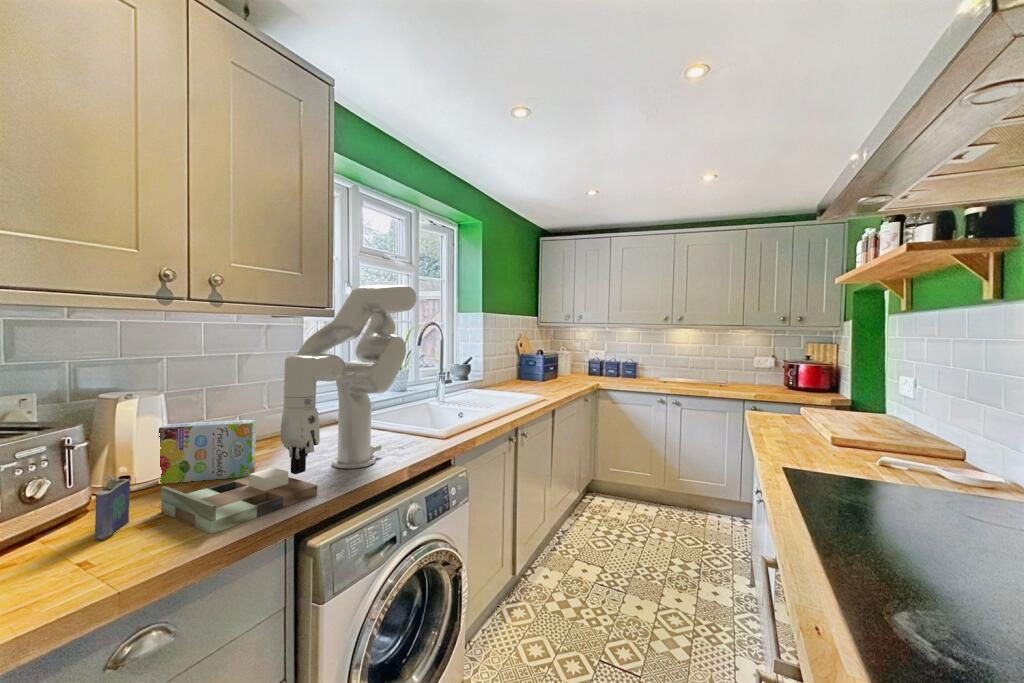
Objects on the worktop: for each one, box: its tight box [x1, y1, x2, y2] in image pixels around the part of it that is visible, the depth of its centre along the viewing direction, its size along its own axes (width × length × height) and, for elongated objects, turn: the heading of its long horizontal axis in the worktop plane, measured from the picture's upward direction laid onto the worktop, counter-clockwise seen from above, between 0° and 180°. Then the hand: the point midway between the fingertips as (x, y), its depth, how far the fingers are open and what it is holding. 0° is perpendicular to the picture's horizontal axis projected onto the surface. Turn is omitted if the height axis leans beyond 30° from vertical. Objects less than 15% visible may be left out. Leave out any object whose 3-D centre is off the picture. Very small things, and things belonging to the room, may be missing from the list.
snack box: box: [158, 419, 257, 485], centre depth 116 cm, size 21×6×15 cm, turn 111°
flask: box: [94, 476, 131, 542], centre depth 85 cm, size 9×3×11 cm, turn 20°
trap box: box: [160, 476, 318, 535], centre depth 99 cm, size 24×20×6 cm
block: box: [249, 467, 289, 491], centre depth 105 cm, size 6×6×3 cm
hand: (298, 472), depth 112 cm, fingers closed
